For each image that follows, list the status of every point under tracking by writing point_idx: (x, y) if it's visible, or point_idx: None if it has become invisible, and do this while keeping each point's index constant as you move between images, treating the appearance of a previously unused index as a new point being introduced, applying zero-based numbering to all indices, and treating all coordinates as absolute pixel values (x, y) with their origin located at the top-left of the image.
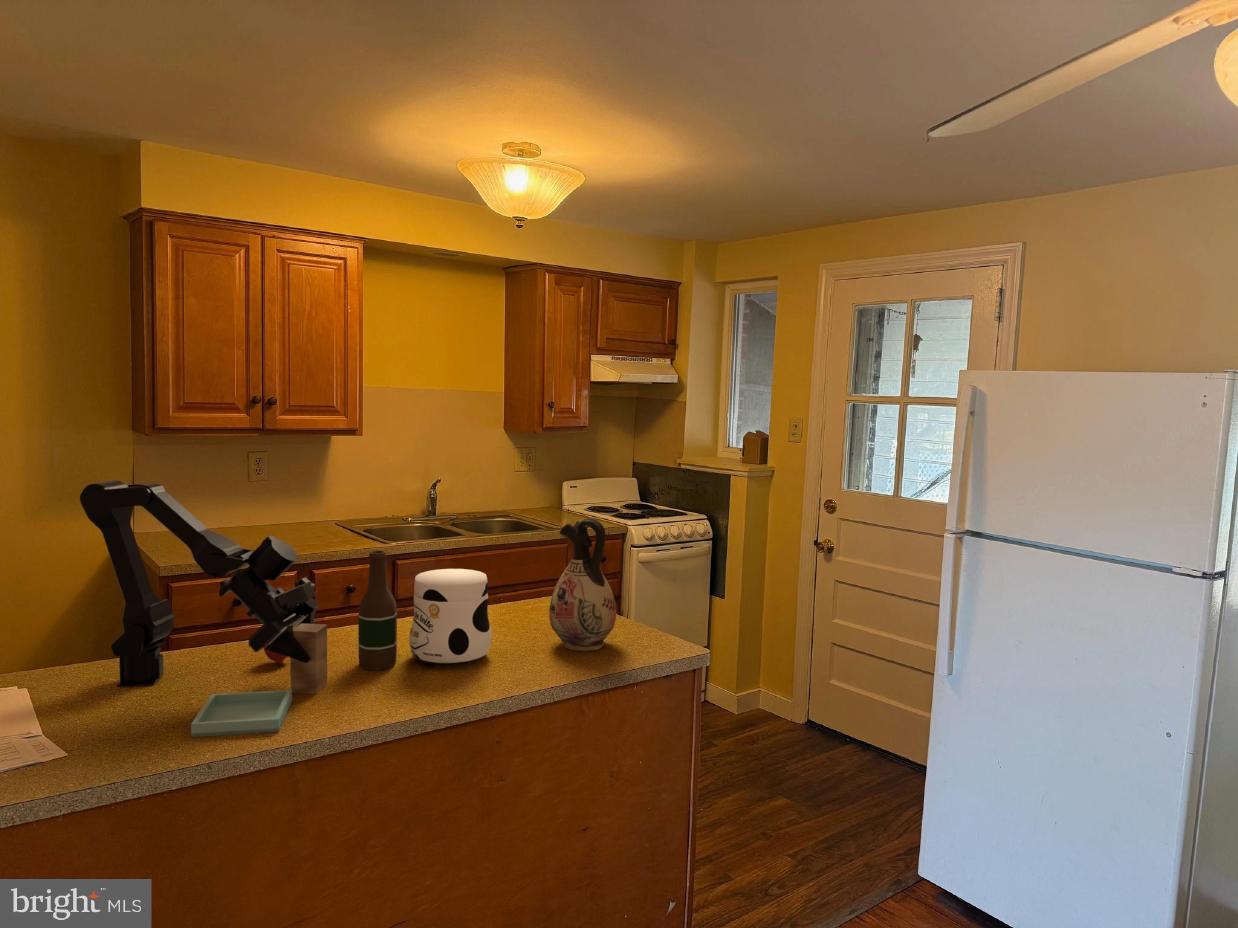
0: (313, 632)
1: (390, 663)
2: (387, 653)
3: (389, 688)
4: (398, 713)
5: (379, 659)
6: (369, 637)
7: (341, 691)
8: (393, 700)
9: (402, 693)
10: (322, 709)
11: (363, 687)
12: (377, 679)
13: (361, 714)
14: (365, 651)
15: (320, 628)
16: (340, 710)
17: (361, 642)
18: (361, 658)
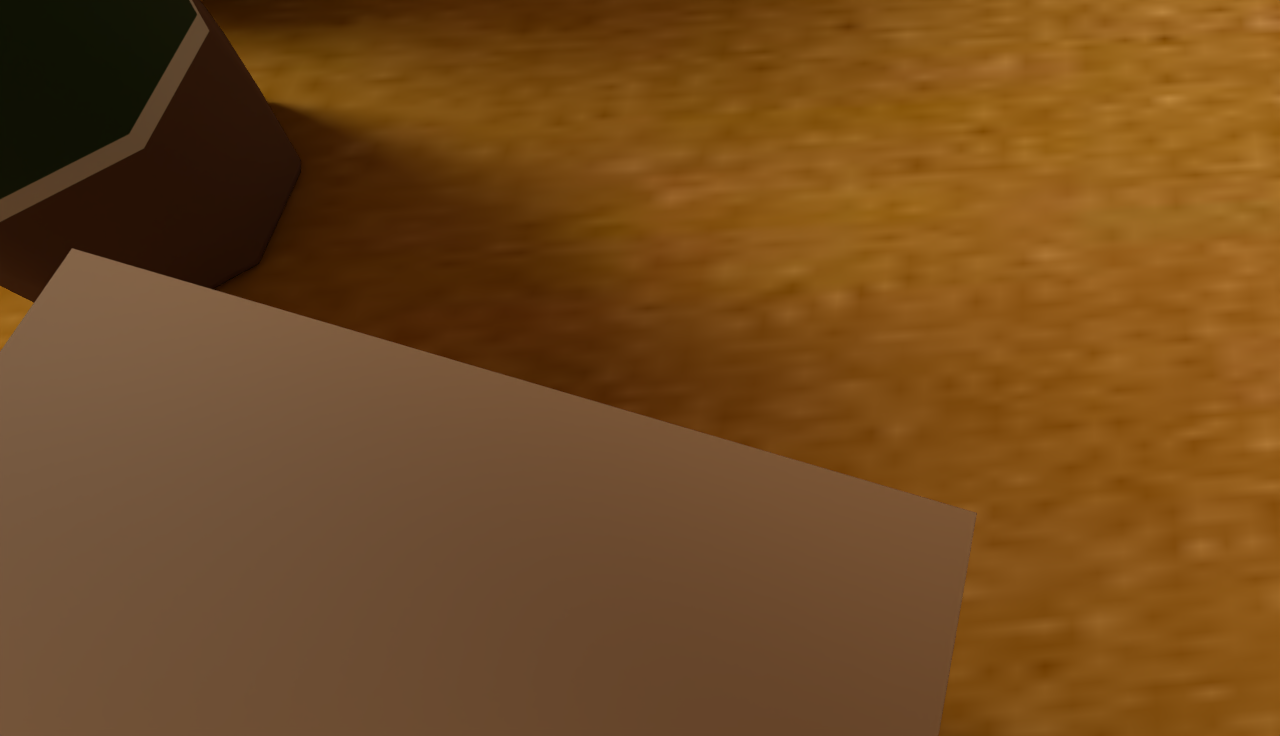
0: (955, 630)
1: (258, 88)
2: (218, 33)
3: (718, 99)
4: (1227, 26)
5: (256, 116)
6: (59, 18)
7: (728, 427)
8: (970, 64)
9: (833, 23)
10: (1182, 558)
11: (662, 266)
12: (501, 183)
13: (1273, 243)
14: (144, 175)
15: (493, 402)
16: (1196, 402)
17: (6, 161)
18: (138, 262)
